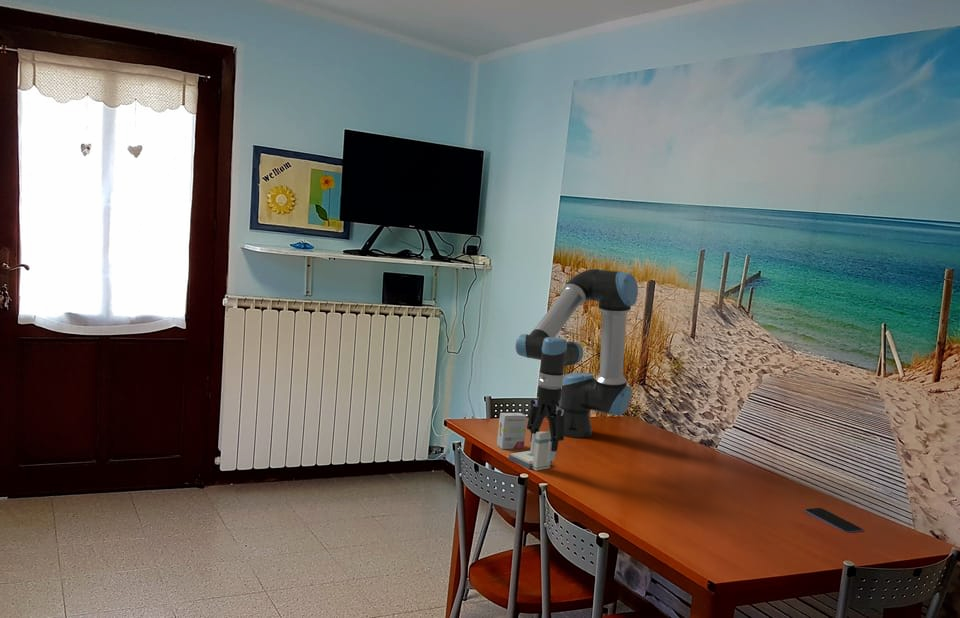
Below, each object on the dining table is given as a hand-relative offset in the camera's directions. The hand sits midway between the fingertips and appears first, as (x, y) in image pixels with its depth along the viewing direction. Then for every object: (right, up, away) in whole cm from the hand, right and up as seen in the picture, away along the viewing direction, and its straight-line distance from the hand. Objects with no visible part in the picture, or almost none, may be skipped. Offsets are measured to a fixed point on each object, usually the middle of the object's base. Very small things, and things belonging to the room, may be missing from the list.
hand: (542, 456), depth 225 cm
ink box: (-9, -1, +22) cm, 24 cm away
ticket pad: (-4, -3, +6) cm, 8 cm away
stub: (0, -4, 0) cm, 4 cm away
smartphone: (+82, -15, -21) cm, 86 cm away
